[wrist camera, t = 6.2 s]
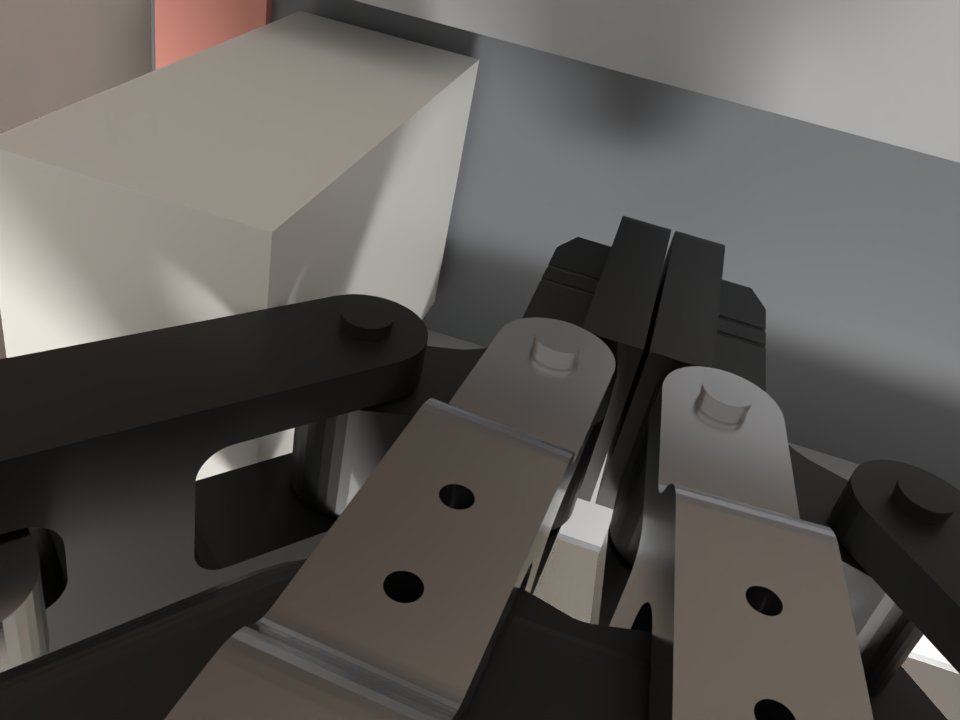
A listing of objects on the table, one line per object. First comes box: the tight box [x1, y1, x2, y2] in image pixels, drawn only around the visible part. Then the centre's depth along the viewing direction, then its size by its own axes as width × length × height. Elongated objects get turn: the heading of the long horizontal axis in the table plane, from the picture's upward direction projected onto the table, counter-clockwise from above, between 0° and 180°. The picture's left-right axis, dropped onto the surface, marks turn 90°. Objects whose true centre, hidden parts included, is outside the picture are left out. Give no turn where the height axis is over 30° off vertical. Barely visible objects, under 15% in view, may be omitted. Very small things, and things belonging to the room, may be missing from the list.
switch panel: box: [151, 0, 960, 674], centre depth 14 cm, size 24×14×4 cm, turn 79°
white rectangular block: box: [0, 11, 479, 481], centre depth 12 cm, size 3×4×7 cm
